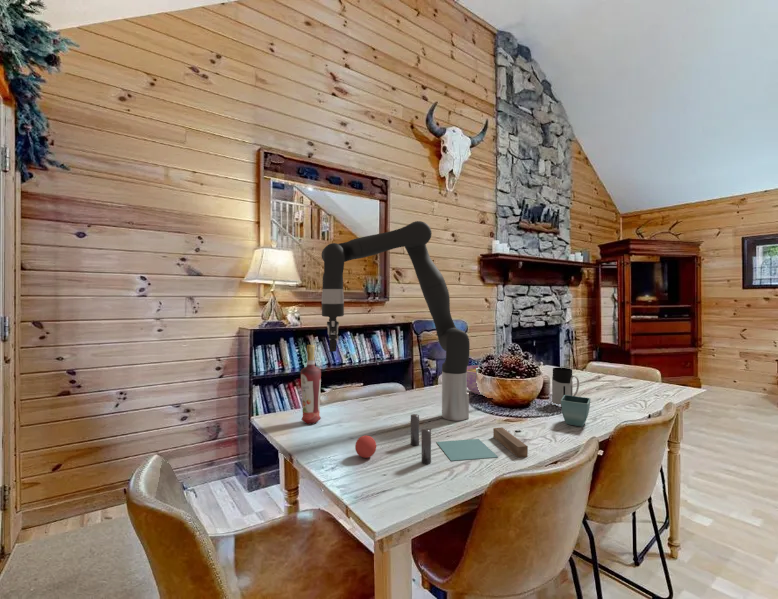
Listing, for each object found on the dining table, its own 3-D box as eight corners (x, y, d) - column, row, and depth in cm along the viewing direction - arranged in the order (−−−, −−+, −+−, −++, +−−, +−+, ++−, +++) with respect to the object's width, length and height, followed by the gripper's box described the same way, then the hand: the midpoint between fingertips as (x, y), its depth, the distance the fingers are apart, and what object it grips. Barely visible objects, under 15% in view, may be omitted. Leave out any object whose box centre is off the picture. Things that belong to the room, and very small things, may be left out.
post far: (417, 442, 123) (417, 414, 123) (420, 445, 121) (420, 416, 121) (409, 443, 123) (409, 414, 123) (411, 446, 120) (411, 417, 120)
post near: (429, 460, 110) (429, 428, 110) (432, 464, 108) (432, 431, 108) (420, 460, 110) (420, 428, 110) (422, 464, 107) (422, 431, 107)
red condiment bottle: (325, 421, 144) (325, 345, 143) (308, 426, 138) (308, 347, 138) (313, 417, 149) (313, 343, 148) (296, 422, 143) (296, 345, 143)
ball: (374, 452, 116) (374, 431, 116) (377, 460, 110) (377, 439, 110) (354, 453, 115) (354, 433, 115) (356, 462, 109) (356, 440, 109)
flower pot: (588, 429, 135) (588, 403, 135) (560, 425, 139) (560, 400, 139) (590, 422, 142) (590, 397, 142) (564, 418, 147) (564, 394, 147)
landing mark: (478, 439, 126) (478, 438, 126) (498, 457, 112) (498, 456, 112) (436, 442, 124) (436, 441, 124) (451, 461, 110) (451, 460, 110)
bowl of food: (453, 392, 185) (453, 368, 185) (482, 387, 196) (482, 363, 196) (486, 402, 169) (486, 375, 168) (515, 395, 180) (516, 370, 180)
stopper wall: (502, 436, 128) (502, 427, 128) (527, 456, 113) (527, 446, 113) (493, 437, 128) (493, 428, 128) (517, 457, 112) (517, 446, 112)
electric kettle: (564, 401, 170) (564, 366, 170) (587, 411, 156) (588, 373, 156) (546, 402, 168) (546, 367, 168) (568, 412, 154) (568, 374, 154)
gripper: (344, 302, 129) (344, 352, 129) (343, 302, 143) (343, 346, 143) (321, 303, 128) (321, 353, 128) (322, 302, 142) (322, 347, 142)
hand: (332, 349), depth 135 cm, fingers open, 8 cm apart
